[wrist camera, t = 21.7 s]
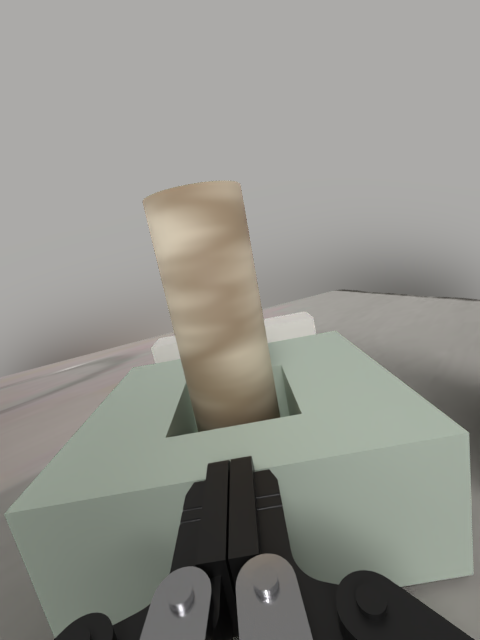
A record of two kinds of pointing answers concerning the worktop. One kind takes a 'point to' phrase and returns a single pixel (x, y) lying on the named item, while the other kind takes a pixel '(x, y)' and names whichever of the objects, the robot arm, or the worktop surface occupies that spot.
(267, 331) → the backstop board
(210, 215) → the birch dowel
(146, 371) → the socket block
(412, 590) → the worktop surface
